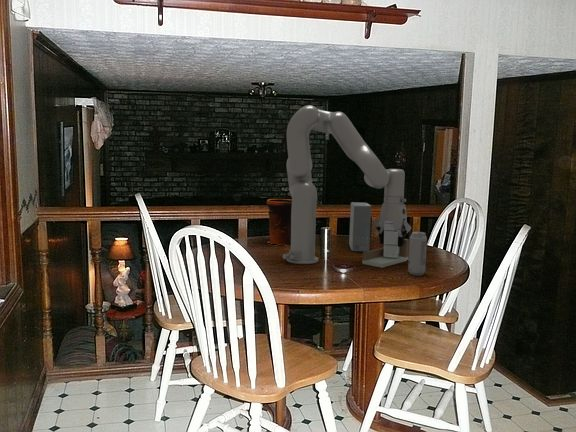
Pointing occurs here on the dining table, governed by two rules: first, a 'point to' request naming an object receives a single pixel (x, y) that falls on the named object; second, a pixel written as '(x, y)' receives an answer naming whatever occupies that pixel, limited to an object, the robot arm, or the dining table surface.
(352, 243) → the hard drive box
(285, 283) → the dining table surface
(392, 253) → the syrup box
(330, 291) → the dining table surface
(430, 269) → the dining table surface
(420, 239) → the energy drink can
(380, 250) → the shelf
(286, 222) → the vessel
